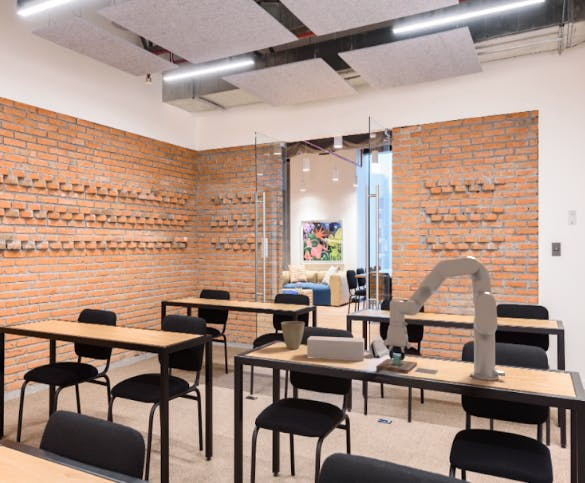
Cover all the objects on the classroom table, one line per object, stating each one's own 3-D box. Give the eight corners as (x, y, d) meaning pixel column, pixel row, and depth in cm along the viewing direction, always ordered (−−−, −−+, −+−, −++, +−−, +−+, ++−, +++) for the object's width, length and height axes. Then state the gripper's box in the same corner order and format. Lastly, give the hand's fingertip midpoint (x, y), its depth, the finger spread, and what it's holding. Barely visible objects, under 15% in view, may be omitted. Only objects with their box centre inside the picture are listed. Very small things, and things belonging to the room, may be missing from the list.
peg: (402, 370, 236) (401, 354, 236) (399, 372, 232) (399, 356, 232) (394, 369, 237) (394, 353, 238) (392, 371, 234) (392, 355, 234)
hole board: (416, 368, 239) (416, 362, 239) (407, 376, 223) (407, 369, 223) (387, 364, 247) (387, 358, 247) (376, 371, 231) (376, 365, 231)
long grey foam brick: (307, 358, 260) (307, 339, 261) (310, 354, 271) (310, 336, 271) (363, 361, 254) (363, 342, 254) (364, 356, 264) (364, 338, 265)
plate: (438, 373, 229) (438, 370, 229) (434, 377, 222) (434, 374, 222) (418, 370, 233) (418, 367, 233) (414, 374, 226) (414, 371, 226)
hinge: (380, 358, 260) (374, 341, 262) (372, 360, 263) (367, 343, 265) (390, 352, 274) (385, 336, 276) (383, 354, 277) (378, 338, 279)
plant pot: (304, 345, 293) (304, 320, 294) (305, 350, 278) (305, 324, 279) (281, 345, 293) (281, 320, 293) (280, 350, 278) (280, 324, 278)
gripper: (415, 324, 234) (415, 359, 234) (383, 321, 243) (383, 355, 242) (411, 326, 228) (411, 362, 227) (378, 323, 236) (378, 358, 236)
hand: (397, 358), depth 235 cm, fingers open, 5 cm apart
